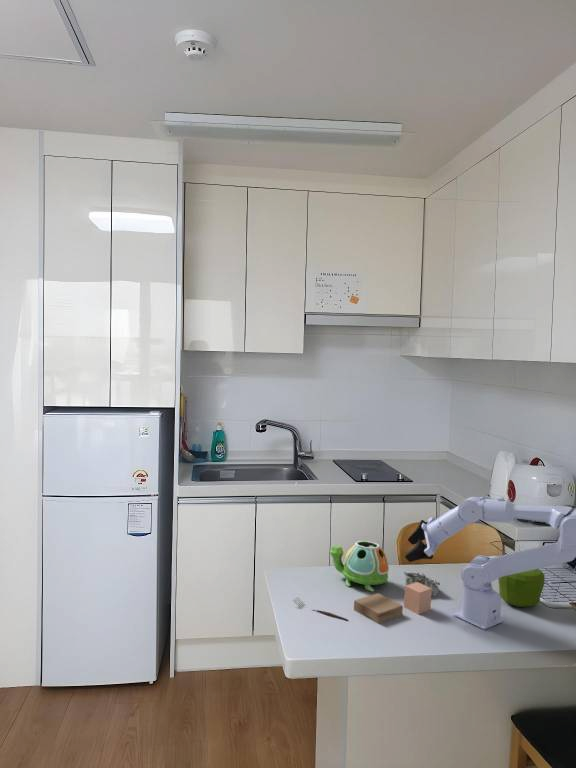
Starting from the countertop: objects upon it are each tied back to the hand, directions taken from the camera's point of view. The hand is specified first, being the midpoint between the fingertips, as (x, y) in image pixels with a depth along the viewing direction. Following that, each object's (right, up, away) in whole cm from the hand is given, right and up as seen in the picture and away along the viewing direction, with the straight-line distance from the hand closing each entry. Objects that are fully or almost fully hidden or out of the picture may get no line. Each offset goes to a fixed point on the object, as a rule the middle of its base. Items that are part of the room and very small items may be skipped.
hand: (408, 550), depth 165 cm
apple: (+31, -15, +1) cm, 35 cm away
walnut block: (-10, -14, -10) cm, 20 cm away
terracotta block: (+1, -14, -6) cm, 15 cm away
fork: (-25, -14, -11) cm, 31 cm away
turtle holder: (-12, -13, +10) cm, 20 cm away
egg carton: (+5, -14, +7) cm, 16 cm away
